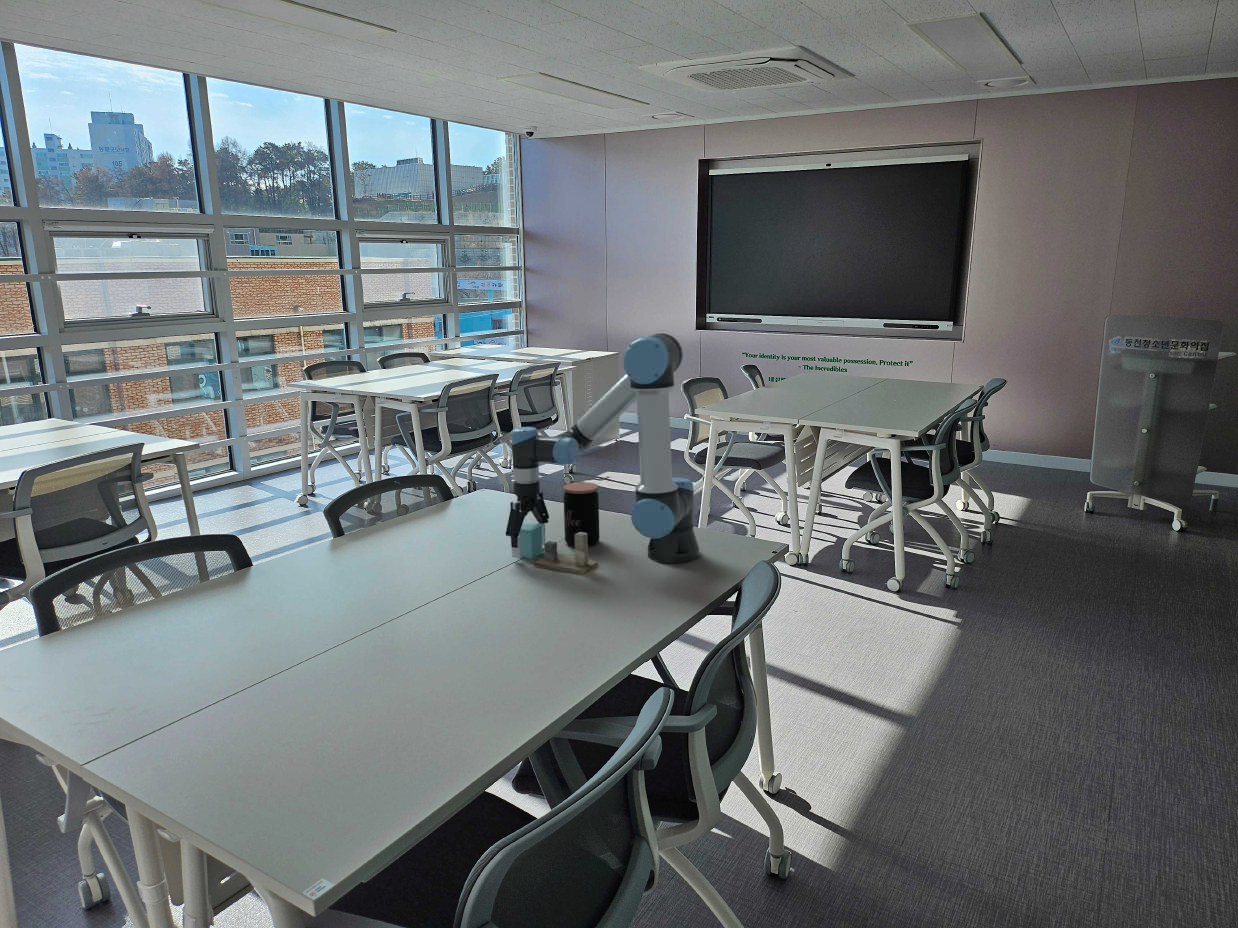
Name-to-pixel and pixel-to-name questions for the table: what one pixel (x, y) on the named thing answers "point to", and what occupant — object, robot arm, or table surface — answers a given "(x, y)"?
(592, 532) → the coffee jar
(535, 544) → the teal rectangular block
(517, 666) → the table surface
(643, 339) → the robot arm
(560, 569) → the stand
